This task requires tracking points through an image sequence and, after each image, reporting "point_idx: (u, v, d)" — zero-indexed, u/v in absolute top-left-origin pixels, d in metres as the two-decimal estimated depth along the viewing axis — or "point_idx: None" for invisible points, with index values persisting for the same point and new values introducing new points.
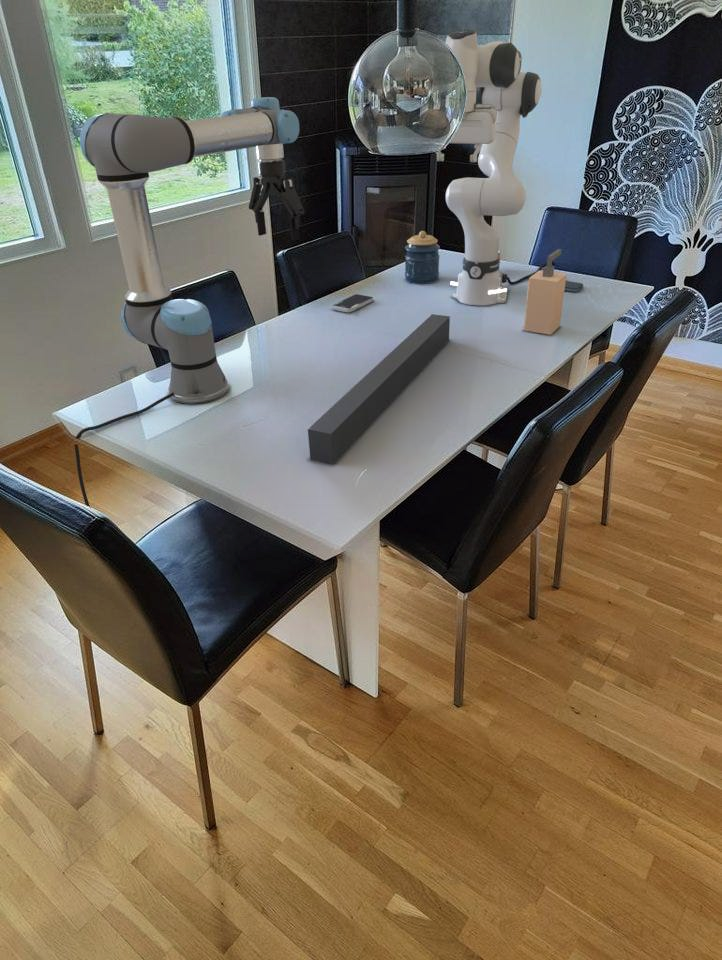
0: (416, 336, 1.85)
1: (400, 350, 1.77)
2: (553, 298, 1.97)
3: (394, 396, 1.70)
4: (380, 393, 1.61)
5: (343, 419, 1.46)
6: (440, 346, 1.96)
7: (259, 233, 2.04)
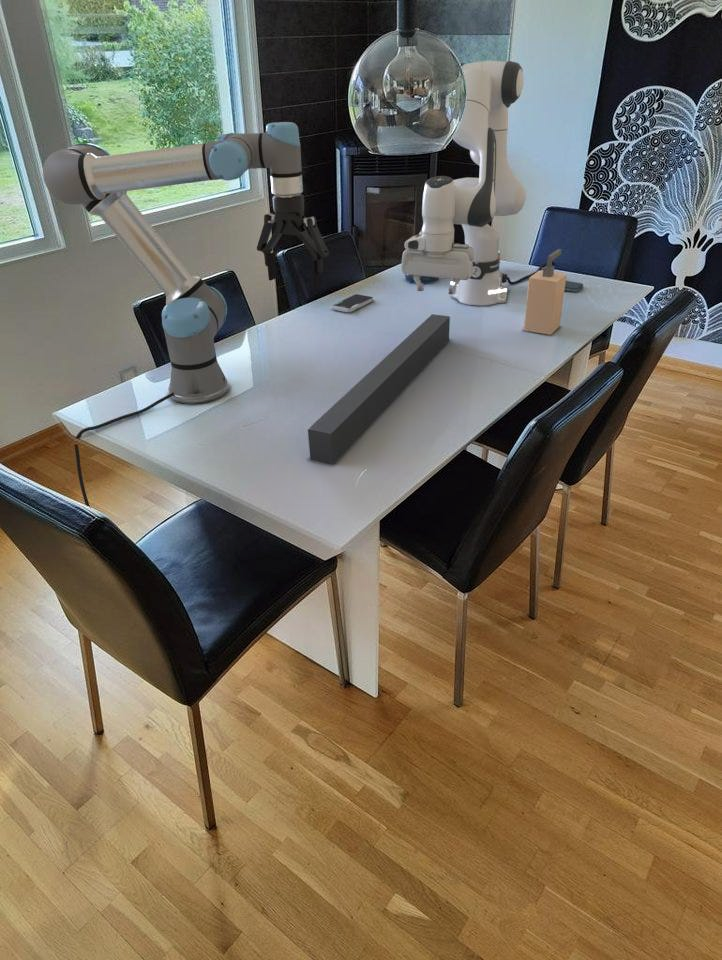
0: (416, 336, 1.85)
1: (400, 350, 1.77)
2: (553, 298, 1.97)
3: (394, 396, 1.70)
4: (380, 393, 1.61)
5: (343, 419, 1.46)
6: (440, 346, 1.96)
7: (270, 278, 1.75)
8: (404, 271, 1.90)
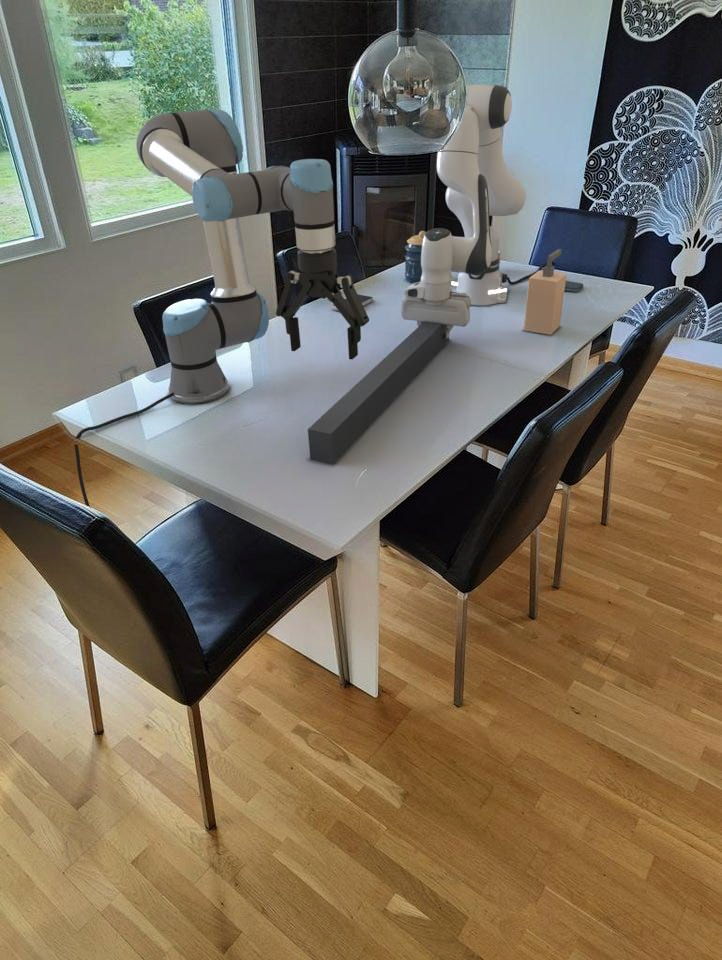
0: (416, 336, 1.85)
1: (400, 350, 1.77)
2: (553, 298, 1.97)
3: (394, 396, 1.70)
4: (380, 393, 1.61)
5: (343, 419, 1.46)
6: (440, 346, 1.96)
7: (293, 348, 1.42)
8: (404, 316, 1.97)
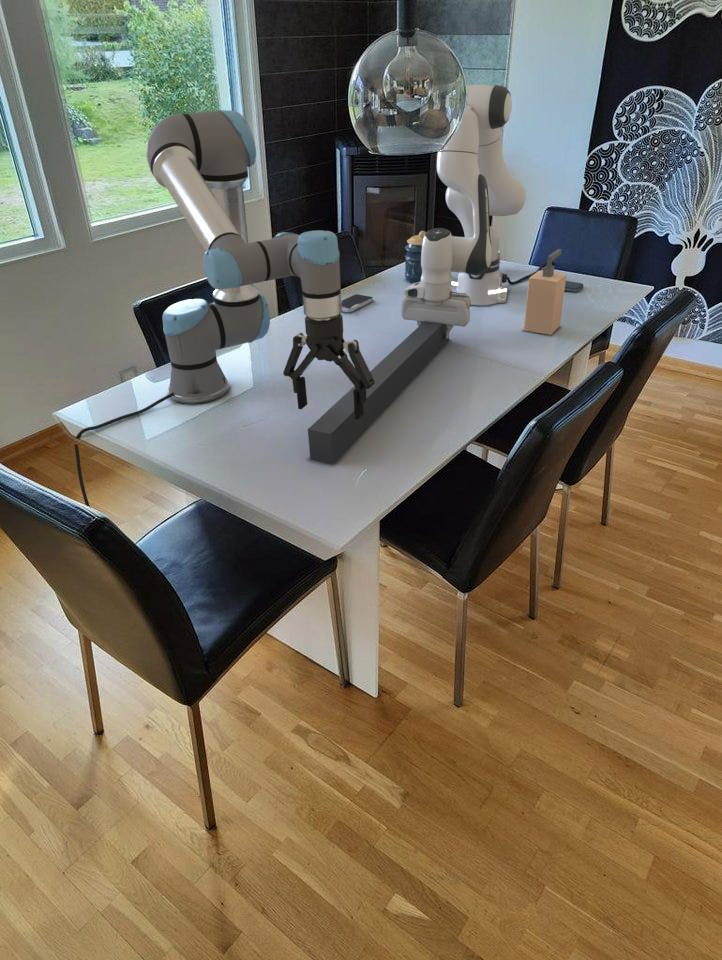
0: (416, 336, 1.85)
1: (400, 350, 1.77)
2: (553, 298, 1.97)
3: (394, 396, 1.70)
4: (380, 393, 1.61)
5: (343, 419, 1.46)
6: (440, 346, 1.96)
7: (300, 406, 1.45)
8: (404, 316, 1.97)
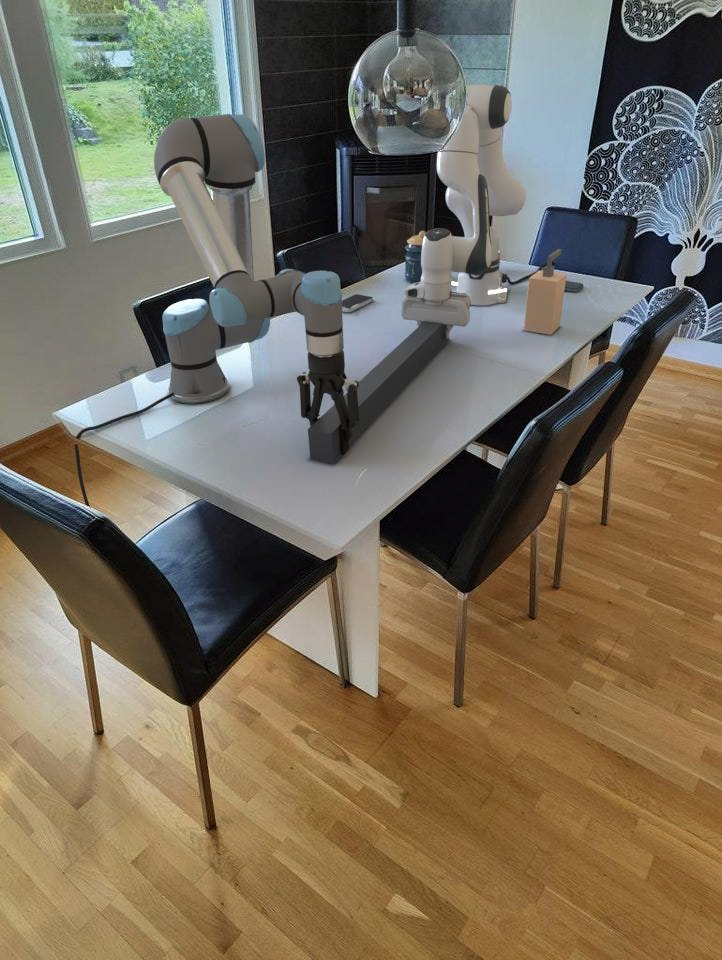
0: (416, 336, 1.85)
1: (400, 350, 1.77)
2: (553, 298, 1.97)
3: (394, 396, 1.70)
4: (380, 393, 1.61)
5: None
6: (440, 346, 1.96)
7: None
8: (404, 316, 1.97)
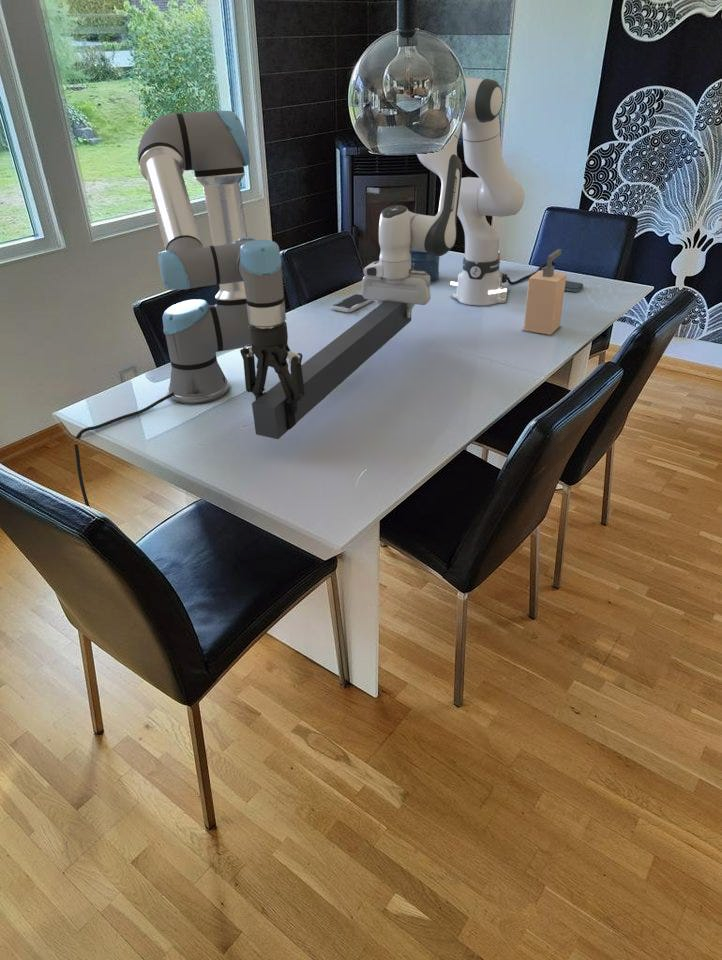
0: (374, 315, 1.83)
1: (357, 328, 1.75)
2: (553, 298, 1.97)
3: (348, 374, 1.68)
4: (332, 369, 1.59)
5: None
6: (401, 326, 1.94)
7: None
8: (364, 296, 1.95)
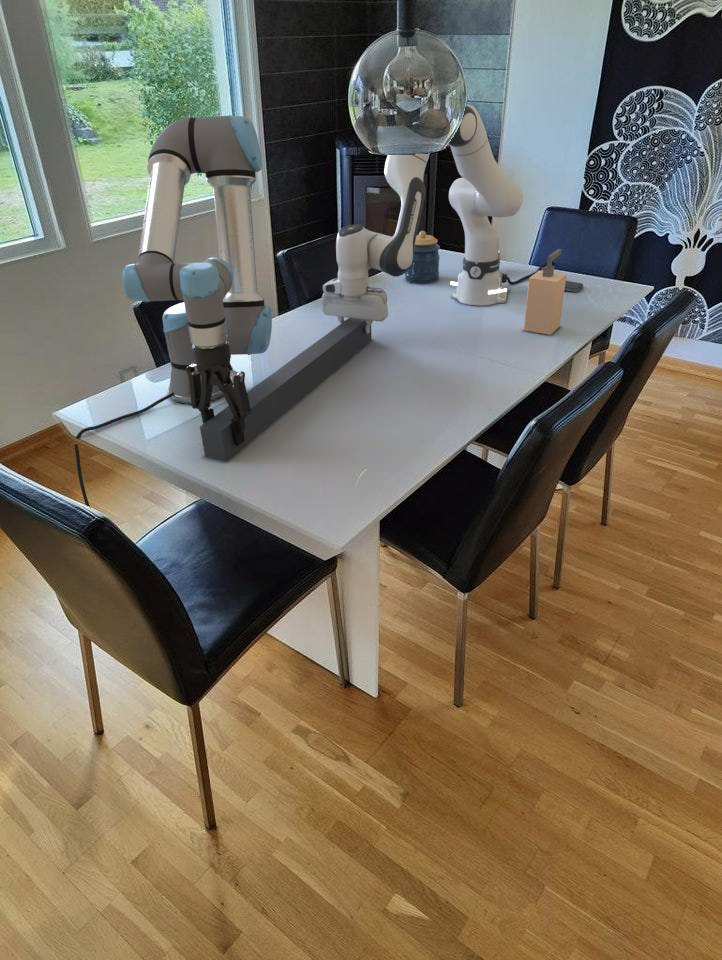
0: (332, 336, 1.88)
1: (313, 350, 1.80)
2: (553, 298, 1.97)
3: (302, 395, 1.72)
4: (283, 391, 1.63)
5: None
6: (360, 346, 1.98)
7: None
8: (324, 312, 1.99)
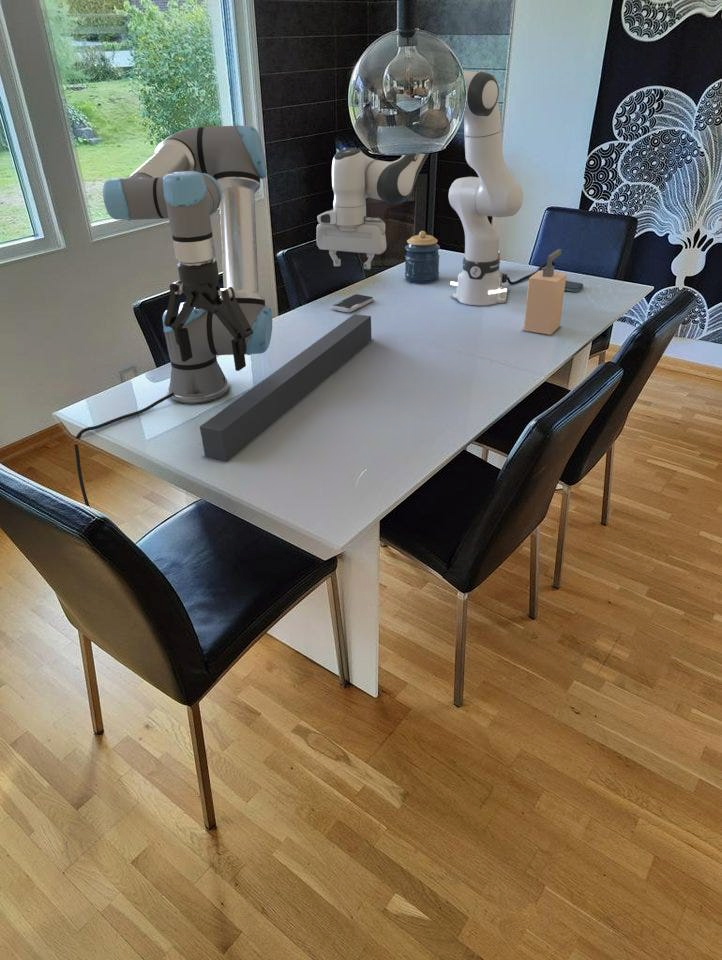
0: (332, 336, 1.88)
1: (313, 350, 1.80)
2: (553, 298, 1.97)
3: (302, 395, 1.72)
4: (283, 391, 1.63)
5: (237, 417, 1.48)
6: (360, 345, 1.98)
7: (183, 358, 1.41)
8: (319, 246, 1.88)
